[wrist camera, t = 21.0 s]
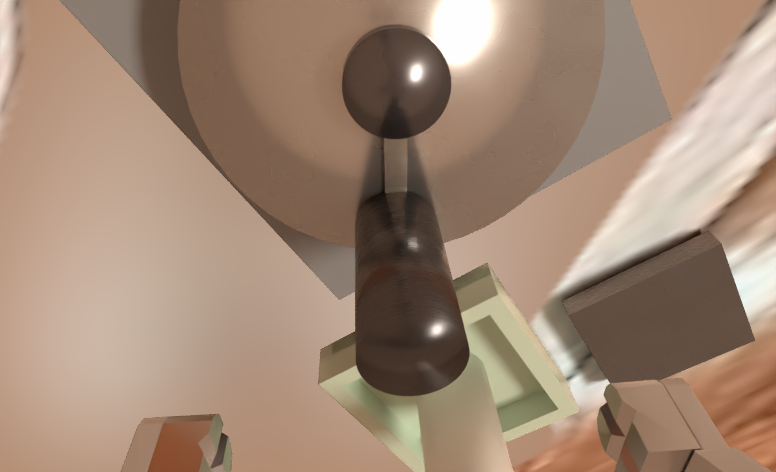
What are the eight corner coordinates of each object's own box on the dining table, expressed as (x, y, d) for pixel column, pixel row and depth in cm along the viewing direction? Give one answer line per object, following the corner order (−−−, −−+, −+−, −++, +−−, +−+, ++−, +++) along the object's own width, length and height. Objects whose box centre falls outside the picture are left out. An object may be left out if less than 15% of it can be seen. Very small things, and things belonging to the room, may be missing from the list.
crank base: (81, -20, 17) (48, -8, 15) (473, -360, 13) (491, -397, 12) (340, 270, 24) (339, 302, 22) (645, 99, 20) (674, 120, 18)
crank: (232, 243, 20) (178, 409, 14) (142, -178, 13) (-48, -227, 7) (551, 229, 20) (639, 383, 14) (627, -185, 14) (861, -238, 7)
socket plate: (561, 301, 26) (568, 315, 25) (708, 230, 24) (721, 243, 23) (611, 382, 29) (618, 397, 28) (742, 326, 27) (754, 340, 26)
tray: (320, 349, 26) (318, 384, 25) (487, 262, 24) (498, 294, 22) (416, 442, 31) (420, 477, 29) (565, 377, 29) (579, 411, 27)
